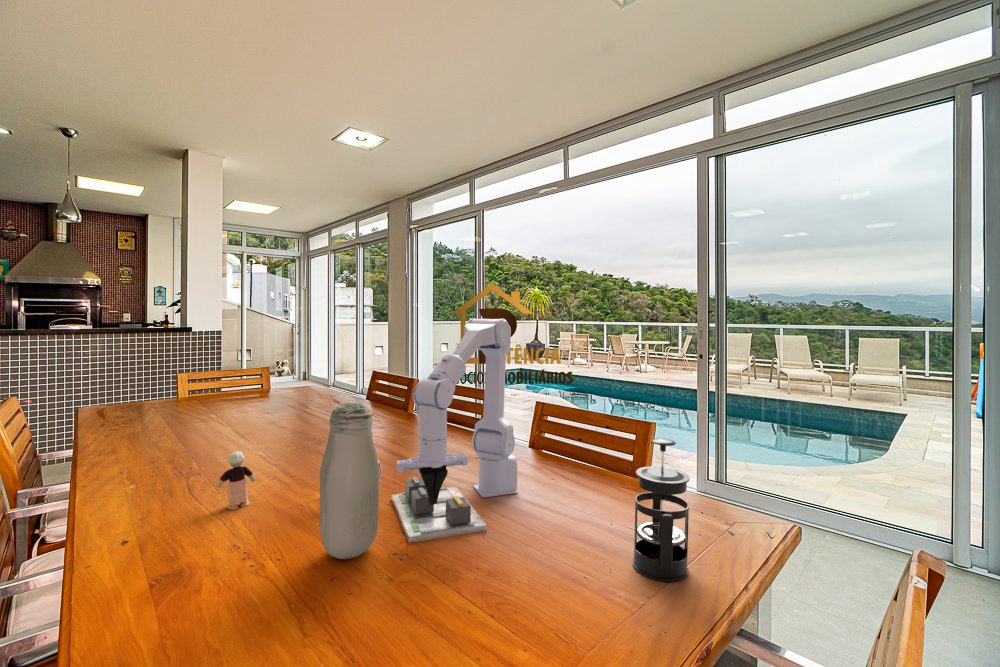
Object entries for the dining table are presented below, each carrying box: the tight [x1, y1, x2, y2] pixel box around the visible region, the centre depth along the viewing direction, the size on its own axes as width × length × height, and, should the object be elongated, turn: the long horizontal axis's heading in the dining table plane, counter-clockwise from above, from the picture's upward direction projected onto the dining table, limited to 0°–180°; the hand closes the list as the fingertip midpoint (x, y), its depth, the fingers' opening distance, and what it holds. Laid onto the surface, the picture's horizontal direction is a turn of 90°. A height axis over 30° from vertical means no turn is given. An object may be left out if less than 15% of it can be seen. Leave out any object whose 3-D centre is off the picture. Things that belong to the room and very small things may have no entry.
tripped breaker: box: [446, 496, 472, 525], centre depth 99 cm, size 4×5×4 cm
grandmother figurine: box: [216, 450, 257, 511], centre depth 107 cm, size 8×4×13 cm, turn 145°
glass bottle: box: [319, 402, 380, 560], centre depth 86 cm, size 10×10×28 cm
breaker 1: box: [404, 476, 426, 502], centre depth 111 cm, size 4×5×4 cm
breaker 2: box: [411, 488, 434, 515], centre depth 104 cm, size 4×5×4 cm
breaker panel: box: [391, 486, 487, 544], centre depth 105 cm, size 16×23×2 cm
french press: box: [632, 437, 691, 583], centre depth 82 cm, size 12×9×23 cm
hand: (432, 502), depth 97 cm, fingers closed
